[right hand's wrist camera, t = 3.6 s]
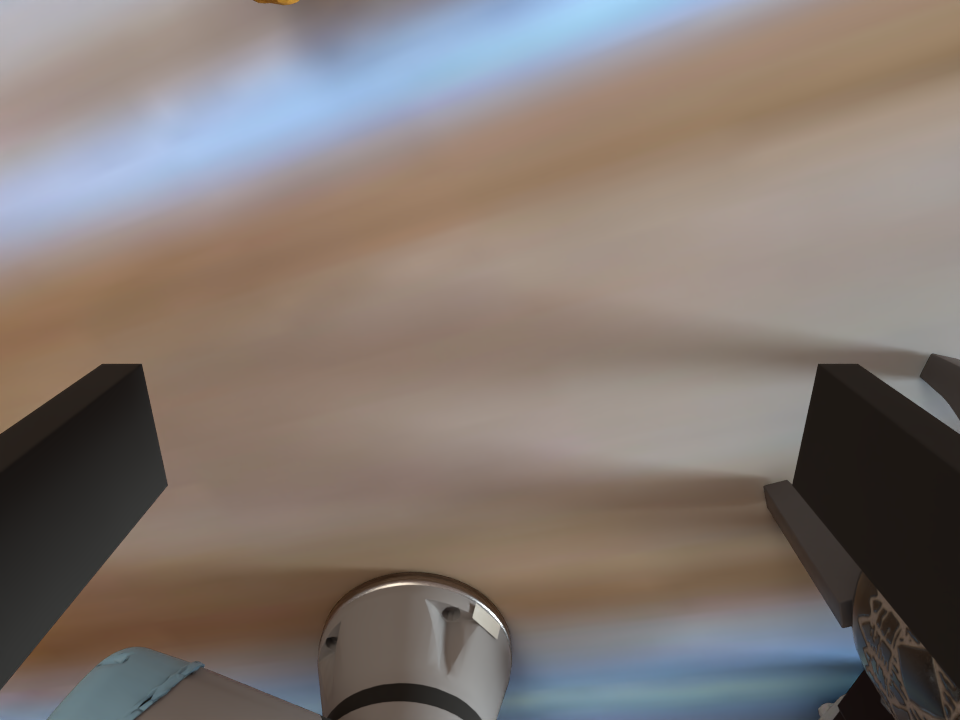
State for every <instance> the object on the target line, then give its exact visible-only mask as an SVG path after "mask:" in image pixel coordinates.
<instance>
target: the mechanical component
mask: <svg viewBox="0 0 960 720" xmlns="http://www.w3.org/2000/svg"><path fill="white" fill-rule="evenodd" d="M818 711H819V715H820V717H821V718H820V719H819V720H895V718H894V717H893V715H892V714H891V712H890V710H889V709H888V707H887V705H886V704H885V702H884V700H883V699H882V697H881V696H880V694H879V692H878V691H877V689H876V687H875V686H874V684H873V682H872V681H871V679H870V678H869V676H868V674H867V673H866V671H865V669H864V671H863V672H862V673H861V675H860V676H859V677H858V679H857V680H856V681H855V683H854V684H853V685H852V687H851V688H850V689H849V691H848V692H847V693H846V694H844V695H843V696H841V697H840V698H839V699H838V700H837V701H836V702H835V703H825V704H823V705H821V706H820V707H819V708H818Z"/></svg>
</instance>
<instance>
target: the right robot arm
mask: <svg viewBox="0 0 960 720" xmlns="http://www.w3.org/2000/svg"><path fill="white" fill-rule="evenodd" d="M167 486H168V484H167V479H166V475H165V470H164V465H163V461H162V456H161V451H160V447H159V442H158V437H157V433H156V428H155V423H154V419H153V414H152V409H151V405H150V400H149V395H148V391H147V386H146V381H145V377H144V372H143V367H142V364H101V365H100V366H99V367H97V368H96V369H94V370H93V371H91V372H90V373H88V374H87V375H86V376H84V377H83V378H81V379H80V380H78V381H77V382H75V383H74V384H72V385H71V386H70V387H68V388H67V389H65V390H64V391H62V392H61V393H59V394H58V395H57V396H55V397H54V398H52V399H51V400H49V401H48V402H46V403H45V404H43V405H42V406H41V407H39V408H38V409H36V410H35V411H33V412H32V413H30V414H29V415H28V416H26V417H25V418H23V419H22V420H20V421H19V422H17V423H16V424H14V425H13V426H12V427H10V428H9V429H7V430H6V431H4V432H3V433H1V434H0V690H1V689H2V687H3V686H4V685H5V684H6V683H7V681H8V680H9V679H10V678H11V676H12V675H13V674H14V673H15V672H16V670H17V669H18V668H19V667H20V665H21V664H22V663H23V662H24V661H25V659H26V658H27V657H28V656H29V654H30V653H31V652H32V651H33V650H34V648H35V647H36V646H37V645H38V643H39V642H40V641H41V640H42V639H43V637H44V636H45V635H46V634H47V632H48V631H49V630H50V629H51V628H52V626H53V625H54V624H55V623H56V621H57V620H58V619H59V618H60V617H61V615H62V614H63V613H64V612H65V610H66V609H67V608H68V607H69V606H70V604H71V603H72V602H73V601H74V599H75V598H76V597H77V596H78V595H79V593H80V592H81V591H82V590H83V588H84V587H85V586H86V585H87V583H88V582H89V581H90V580H91V579H92V577H93V576H94V575H95V574H96V572H97V571H98V570H99V569H100V568H101V566H102V565H103V564H104V563H105V561H106V560H107V559H108V558H109V557H110V555H111V554H112V553H113V552H114V550H115V549H116V548H117V547H118V546H119V544H120V543H121V542H122V541H123V539H124V538H125V537H126V536H127V535H128V533H129V532H130V531H131V530H132V528H133V527H134V526H135V525H136V524H137V522H138V521H139V520H140V519H141V517H142V516H143V515H144V514H145V513H146V511H147V510H148V509H149V508H150V506H151V505H152V504H153V503H154V502H155V500H156V499H157V498H158V497H159V495H160V494H161V493H162V492H163V491H164V489H165V488H166V487H167ZM792 486H793V487H794V488H795V489H796V491H797V492H798V493H799V494H800V495H801V497H802V498H803V499H804V500H805V502H806V503H807V504H808V505H809V506H810V508H811V509H812V510H813V511H814V513H815V514H816V515H817V516H818V517H819V519H820V520H821V521H822V522H823V524H824V525H825V526H826V527H827V528H828V530H829V531H830V532H831V533H832V535H833V536H834V537H835V538H836V539H837V541H838V542H839V543H840V544H841V546H842V547H843V548H844V549H845V550H846V552H847V553H848V554H849V555H850V557H851V558H852V559H853V560H854V561H855V563H856V564H857V565H858V566H859V568H860V569H861V570H862V571H863V572H864V574H865V575H866V576H867V577H868V579H869V580H870V581H871V582H872V583H873V585H874V586H875V587H876V588H877V590H878V591H879V592H880V593H881V595H882V596H883V597H884V598H885V599H886V601H887V602H888V603H889V604H890V606H891V607H892V608H893V609H894V610H895V612H896V613H897V614H898V615H899V617H900V618H901V619H902V620H903V621H904V623H905V624H906V625H907V626H908V628H909V629H910V630H911V631H912V632H913V634H914V635H915V636H916V637H917V639H918V640H919V641H920V642H921V643H922V645H923V646H924V647H925V648H926V650H927V651H928V652H929V653H930V654H931V656H932V657H933V658H934V659H935V661H936V662H937V663H938V664H939V665H940V667H941V668H942V669H943V670H944V672H945V673H946V674H947V675H948V676H949V678H950V679H951V680H952V681H953V683H954V684H955V685H956V686H957V687H958V689H959V690H960V434H959V433H957V432H956V431H954V430H953V429H951V428H950V427H948V426H947V425H946V424H944V423H943V422H941V421H940V420H938V419H937V418H935V417H934V416H932V415H931V414H930V413H928V412H927V411H925V410H924V409H922V408H921V407H919V406H918V405H917V404H915V403H914V402H912V401H911V400H909V399H908V398H906V397H905V396H903V395H902V394H901V393H899V392H898V391H896V390H895V389H893V388H892V387H890V386H889V385H888V384H886V383H885V382H883V381H882V380H880V379H879V378H877V377H876V376H874V375H873V374H872V373H870V372H869V371H867V370H866V369H864V368H863V367H861V366H860V365H859V364H818V367H817V372H816V377H815V381H814V386H813V391H812V395H811V400H810V405H809V409H808V414H807V419H806V423H805V428H804V433H803V437H802V442H801V447H800V451H799V456H798V461H797V465H796V470H795V475H794V479H793V484H792ZM511 665H512V653H511V639H510V634H509V630H508V627H507V624H506V622H505V620H504V618H503V617H502V615H501V613H500V612H499V611H498V609H497V608H496V607H495V605H494V604H493V603H492V602H491V601H490V600H489V599H487V598H486V597H485V596H484V595H483V594H481V593H480V592H478V591H477V590H475V589H474V588H472V587H470V586H468V585H467V584H464V583H462V582H460V581H458V580H455V579H452V578H449V577H445V576H441V575H437V574H431V573H422V572H406V573H396V574H390V575H385V576H381V577H378V578H375V579H372V580H370V581H367V582H365V583H363V584H361V585H359V586H357V587H356V588H354V589H353V590H351V591H350V592H349V593H347V594H346V595H345V596H344V597H343V598H342V599H341V600H340V601H339V602H338V603H337V604H336V605H335V607H334V608H333V609H332V611H331V612H330V614H329V616H328V618H327V620H326V623H325V626H324V630H323V633H322V636H321V640H320V644H319V653H318V673H319V683H320V693H321V704H322V714H323V716H321V715H319V714H317V713H314V712H312V711H309V710H307V709H304V708H302V707H299V706H297V705H294V704H292V703H289V702H287V701H284V700H282V699H279V698H277V697H275V696H272V695H270V694H267V693H265V692H262V691H260V690H257V689H255V688H252V687H250V686H247V685H245V684H242V683H240V682H237V681H235V680H232V679H230V678H228V677H225V676H223V675H220V674H218V673H215V672H213V671H210V670H208V669H205V668H204V666H205V665H204V664H203V663H201V662H199V661H195V662H192V663H190V662H187V661H184V660H181V659H178V658H175V657H172V656H169V655H166V654H163V653H160V652H157V651H154V650H151V649H148V648H144V647H130V648H126V649H123V650H120V651H118V652H116V653H113V654H112V655H110V656H109V657H107V658H105V659H104V660H103V661H101V662H100V663H99V664H98V665H97V666H96V667H95V668H93V669H92V670H91V671H90V672H89V673H88V674H87V675H86V676H85V677H84V678H83V679H82V680H81V681H80V683H79V684H78V685H77V686H76V687H75V688H74V689H73V690H72V691H71V692H70V693H69V694H68V695H67V697H66V698H65V699H64V700H63V701H62V702H61V704H60V705H59V706H58V707H57V708H56V709H55V711H54V712H53V713H52V714H51V715H50V716H49V717H48V719H47V720H496V719H497V716H498V713H499V710H500V707H501V704H502V701H503V698H504V695H505V692H506V689H507V686H508V683H509V679H510V672H511Z"/></svg>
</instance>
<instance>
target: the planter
mask: <svg viewBox="0 0 960 720" xmlns="http://www.w3.org/2000/svg"><path fill="white" fill-rule="evenodd" d="M920 377H921V378H922V379H923V380H924V381H925V382H927V383H928V384H929V385H930V386H931V387H932V388H933V389H934V390H936V391H937V392H938V393H939V394H940V395H941V396H942V397H943V398H944V399H945V400H946V401H947V402H948V404H949V405H950V406H951V408H952V409H953V411H954V412H955V414H956V415H957V417H958V418H959V420H960V360H959V359H955V358H951V357H946V356H941V355H937V354H931V355H930V357H929V359H928V361H927V363H926V365H925V367H924V369H923V371H922V373H921V375H920ZM764 492H765V497H766V503H767V508H768V509H769V511H770V513H771V514H772V516H773V517H774V519H775V521H776V522H777V524H778V525H779V527H780V529H781V530H782V532H783V534H784V535H785V537H786V538H787V540H788V542H789V543H790V545H791V546H792V548H793V550H794V551H795V553H796V554H797V556H798V558H799V559H800V561H801V563H802V564H803V566H804V567H805V569H806V571H807V572H808V574H809V575H810V577H811V579H812V580H813V582H814V583H815V585H816V587H817V588H818V590H819V591H820V593H821V595H822V596H823V598H824V600H825V601H826V603H827V604H828V606H829V608H830V609H831V611H832V612H833V614H834V616H835V617H836V619H837V621H838V622H839V624H840V625H841V627H842V628H845V627H850V626H852V630H853V636H854V642H855V646H856V650H857V652H858V654H859V657H860V659H861V662H862V664H863V667H864V669H865V671H866V673H867V674H868V676H869V678H870V679H871V681H872V682H873V684H874V686H875V687H876V689H877V691H878V692H879V694H880V696H881V697H882V699H883V700H884V702H885V704H886V705H887V707H888V709H889V710H890V712H891V714H892V715H893V717H894V718H895V720H960V690H959V689H958V687H957V686H956V685H955V684H954V683H953V681H952V680H951V679H950V678H949V676H948V675H947V674H946V673H945V672H944V670H943V669H942V668H941V667H940V665H939V664H938V663H937V662H936V661H935V659H934V658H933V657H932V656H931V654H930V653H929V652H928V651H927V650H926V648H925V647H924V646H923V645H922V643H921V642H920V641H919V640H918V639H917V637H916V636H915V635H914V634H913V632H912V631H911V630H910V629H909V628H908V626H907V625H906V624H905V623H904V621H903V620H902V619H901V618H900V617H899V615H898V614H897V613H896V612H895V610H894V609H893V608H892V607H891V606H890V604H889V603H888V602H887V601H886V599H885V598H884V597H883V596H882V595H881V593H880V592H879V591H878V590H877V588H876V587H875V586H874V585H873V583H872V582H871V581H870V580H869V579H868V577H867V576H866V575H865V574H864V572H863V571H862V570H861V569H860V568H859V566H858V565H857V564H856V563H855V561H854V560H853V559H852V558H851V557H850V555H849V554H848V553H847V552H846V550H845V549H844V548H843V547H842V546H841V544H840V543H839V542H838V541H837V539H836V538H835V537H834V536H833V535H832V533H831V532H830V531H829V530H828V528H827V527H826V526H825V525H824V524H823V522H822V521H821V520H820V519H819V517H818V516H817V515H816V514H815V513H814V511H813V510H812V509H811V508H810V506H809V505H808V504H807V503H806V502H805V500H804V499H803V498H802V497H801V495H800V494H799V493H798V492H797V491H796V489H795V488H794V487H793V486H792V484H791V483H790V482H789V481H788V480H785V481H781V482H777V483H773V484H769V485H765V486H764Z"/></svg>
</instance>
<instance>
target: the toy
mask: <svg viewBox="0 0 960 720" xmlns="http://www.w3.org/2000/svg"><path fill="white" fill-rule="evenodd" d="M254 1H256V2H258V3H274V4H280V5H290V4H293V3H296V2H298V1H299V0H254Z"/></svg>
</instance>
